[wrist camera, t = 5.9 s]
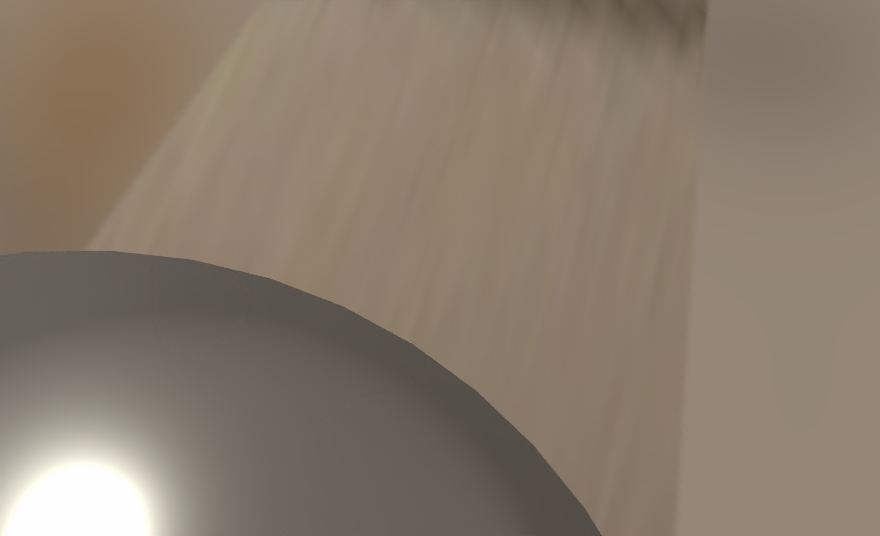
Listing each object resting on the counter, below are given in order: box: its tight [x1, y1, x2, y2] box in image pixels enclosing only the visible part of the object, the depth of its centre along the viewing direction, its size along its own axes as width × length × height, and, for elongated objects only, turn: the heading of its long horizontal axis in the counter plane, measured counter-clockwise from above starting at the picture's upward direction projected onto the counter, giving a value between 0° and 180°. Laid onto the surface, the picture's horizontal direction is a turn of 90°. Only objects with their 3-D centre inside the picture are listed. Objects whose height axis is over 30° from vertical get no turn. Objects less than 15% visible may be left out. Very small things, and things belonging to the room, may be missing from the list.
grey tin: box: [0, 251, 602, 536], centre depth 9 cm, size 6×6×13 cm
